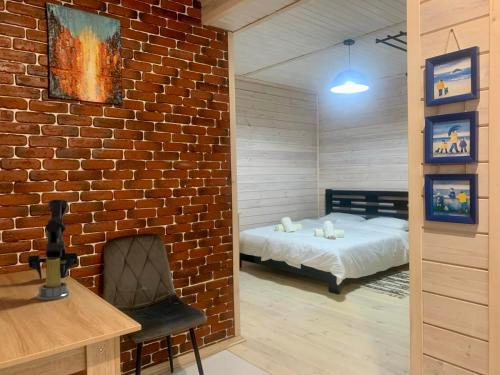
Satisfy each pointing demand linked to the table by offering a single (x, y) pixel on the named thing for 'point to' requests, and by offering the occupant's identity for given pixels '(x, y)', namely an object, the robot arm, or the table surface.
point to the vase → (53, 272)
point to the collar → (52, 292)
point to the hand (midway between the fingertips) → (52, 277)
